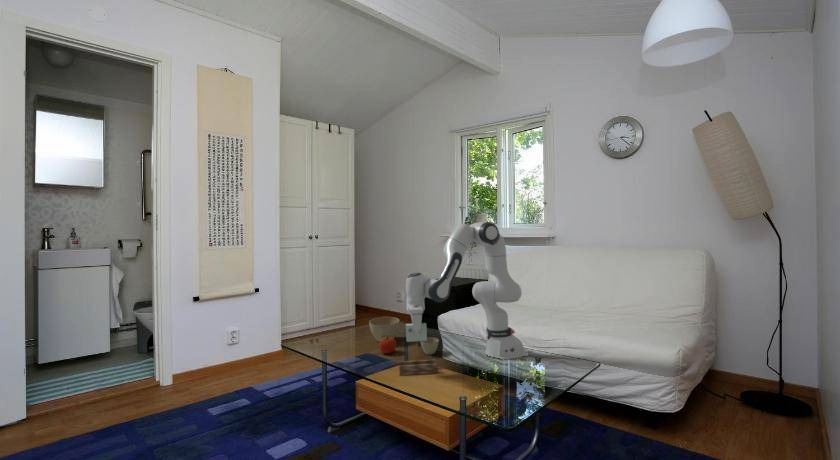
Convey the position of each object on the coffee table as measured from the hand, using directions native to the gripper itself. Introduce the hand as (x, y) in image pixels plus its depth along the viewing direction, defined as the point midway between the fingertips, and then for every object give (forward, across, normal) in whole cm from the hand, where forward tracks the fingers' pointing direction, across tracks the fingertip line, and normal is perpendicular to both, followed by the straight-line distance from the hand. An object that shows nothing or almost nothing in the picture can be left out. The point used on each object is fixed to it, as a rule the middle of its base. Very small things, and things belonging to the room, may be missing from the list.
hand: (416, 334), depth 217 cm
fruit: (+18, -29, -15) cm, 37 cm away
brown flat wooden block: (+18, 0, 0) cm, 18 cm away
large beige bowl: (+17, -50, -17) cm, 56 cm away
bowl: (+18, -24, +8) cm, 31 cm away
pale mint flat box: (+3, 0, 0) cm, 3 cm away
